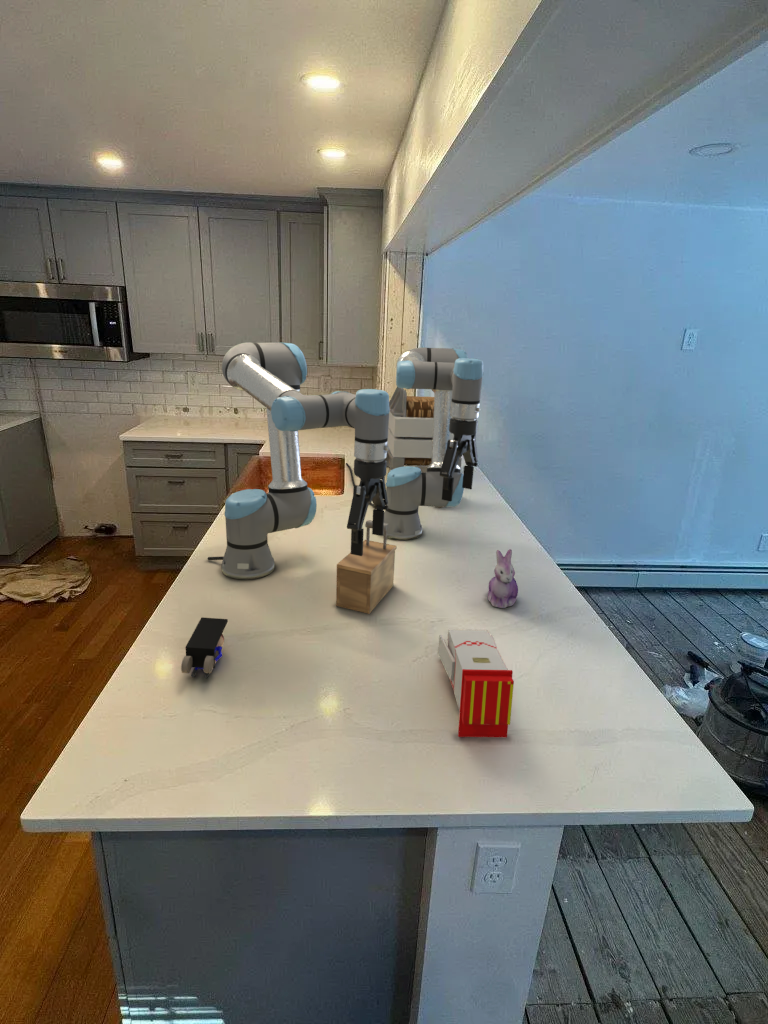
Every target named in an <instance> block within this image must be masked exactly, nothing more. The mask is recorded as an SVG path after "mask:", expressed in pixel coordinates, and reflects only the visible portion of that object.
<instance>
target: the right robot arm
mask: <svg viewBox="0 0 768 1024" xmlns="http://www.w3.org/2000/svg"><path fill="white" fill-rule="evenodd" d="M395 372H396V374H395V375H396V376H395V385H396V388H397V387H398V388H403V389H405V390H431V391H432V392H433V395H434V396H433V397H434V417H433V441H432V462H431V464H430V465H428V466H426V472H424V471H423V472H422V469H421V468H420V467H419V466H407V465H404V467H398V468H395V469H392V470H391V471H390V470H389V471H388V473H387V474H386V481H385V486H386V493H387V499H388V504H387V505H386V506H388V510H384V523H387V524H389V528H388V530H387V539H389V540H395V541H410V540H415V539H418V538H420V537H421V536H422V535H423V525H422V524H421V518H420V515H419V507H435V506H436V507H435V508H437V507H442V508H455V507H458V506H459V505H460V503H461V501H462V499H463V495H464V491H465V489H466V490H467V489H468V490H472V489H473V480H474V469H475V467H476V468H477V467H478V465H479V464H478V461H479V458H478V449H477V448H478V447H477V433H478V426H479V421H478V420H477V419H478V418H479V413H480V412H481V411H482V409H481V407H480V405H481V404H480V403H481V394H482V385H483V377H484V361H483V360H482V359H477V358H469V355H468V353H467V352H466V350H464V349H459V348H454V347H452V348H451V347H450V348H449V347H427V346H426V347H425V346H424V347H416V348H411V349H408V350H406V351H404V352H402V354H400V355H399V356H398V358H397V361H396V371H395ZM460 457H461V458H462V457H463V460H464V463H465V465H463V472H461V474H460V470H461V471H462V467H461V468H460V467H459V466H458V465H457V463H458V461H459V458H460ZM345 465H346V466H347V468H348V469H349V472H350V477H351V478H350V479H351V483H352V486H353V487H354V485H356V483H355V480H354V475H353V474H354V472H353V470H352V467H351V466H350V465H349V463H347V462H346V463H345ZM369 505H370V506H371V507H373V509H376V508H375V507H374V504H373V502H371V503H370V504H369ZM382 537H384V531H383V536H382Z"/></svg>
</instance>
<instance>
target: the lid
mask: <svg viewBox="0 0 768 1024" xmlns="http://www.w3.org/2000/svg"><path fill="white" fill-rule="evenodd" d="M372 525H373V520H370V519H367V520H366V521H365V528H366V535H365V536H366V539H363V555H362V556H358V555H353V554H351V551H350V552H349V553H348V554H347V555H346V556H344V558H342V559H341V560H340V561H339V562H338V563H336V569H337V568H341V569H345V570H350V571H354V572H359V573H364V574H368V575H371V574H372V573H373V572H374V571H375V570H376V569H377V568H378V567H379V566H380V565H381V564H382V563H383V562H384V561H385V560H386V559H387V558H388V557H389V556H390V555H391V554H392V553H393V552H394V551H395V552H396V550H397V545H394V544H390V543H387V539H388V538H387V530H388V528H389V524H387V523H384V528H383V531H384V536H383V542H379V541H373V540H370V537H371V529H372Z"/></svg>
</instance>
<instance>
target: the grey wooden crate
mask: <svg viewBox="0 0 768 1024" xmlns="http://www.w3.org/2000/svg"><path fill="white" fill-rule="evenodd" d="M407 394H408V393H407V389H405V388H398V387H397V386H396V388H395V390H394V392H393V394H392V395H391V398H390V399H389V408H390V412H389V425H388V442H387V446H388V447H389V450H388V451H387V457H386V458H385V460H386V461H387V467H388V468H389V472H390V471H391V470H392V469H395V468H398V467H405V466H413V467H428V466H429V465H430V464H431V462H432V441H433V417H434V396H415V395H414V396H413V395H412V396H411V395H407ZM462 461H463V460H462V457H460V458H459V461H458V463H457V465H458V466H459V467H460V468H461V470H460V474H461V473H462Z"/></svg>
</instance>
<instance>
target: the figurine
mask: <svg viewBox="0 0 768 1024" xmlns="http://www.w3.org/2000/svg"><path fill="white" fill-rule="evenodd" d="M495 555H496V566H495V567H494V573H493V574H494V576H493V577H492V578H491V579H490V580H489V582H488V591H487V600H488V601H489V603H490V605H491V606H492V607H495V608H500V609H506V608H507V607H511V606H513V605H514V604H515V603H516V601H517V597H518V595H519V585H518V583H517V579H515V575H516V571H515V567H514V565H513V564H512V558H513V557H512V556H513V550H512V548H509V549H508V550H507V551H506V553H505V555H504V556H503V554H502V551H500V550H499V549H497V550H496V551H495Z"/></svg>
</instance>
